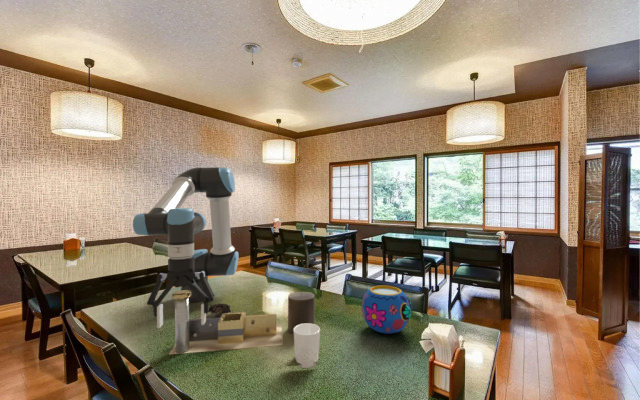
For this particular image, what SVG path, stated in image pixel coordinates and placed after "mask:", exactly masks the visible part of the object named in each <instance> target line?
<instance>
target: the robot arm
mask: <svg viewBox="0 0 640 400" xmlns="http://www.w3.org/2000/svg"><path fill="white" fill-rule="evenodd" d="M235 191H236V182H235V178H234V173H233V171H232V170H231V169H230V167H229V168H228V167H220V166H219V167H215V166H214V167H194V168H190V169H188V170H185V171H184V172H182V173H180V174H178V176H176V177H175V178H174V179H173V181H172V183H171V186H170V188H169V189H168V190H167V191H166V192H165V193H164V194H163V195H162V197H161V198H160V199H159V200H158V201H157V203H155V205H154V206H153V207H152V208H151V209H150V210H149V212H148V213H146V212H143V213H138V214H136V215H135V216H134V217H133V220H132V228H133V232H134V234H136V235H139V236H148V237H149V236H167V257H168V259H167V265H168V266H167V273H164V272H160V273H159V274H157V275H156V282H155V284H154V287H153V289H152V291H151V293H150V294H149V297H148V299H147V301H146V305H147V306H152V307H153V316H154V317H156V327H157V329H160V328H161V327H162V326H163V325H164V304H163V303H162V301H163V300H164V299H165V297H166V296H167V295H168V294H169V292H170V291H171V290H172V289H173V288H174V287H175V288H180V290H179V291H181V290H190V291H191V296H190V297H189V303H196V302H202V303H201V304H200V313H201V314H200V316H201V325H204V324H205V322H206V313H208V311H209V307H210V303H211V302H213V301H214V300H215V298H216V297H215V294H214V291H213V290H212V287H211V286H210V283H209V277H214V276H215V277H219V276H225V277H227V276H234V275H235V274H236V272H237V268H238V266H239V265H238V264H239V257H240V256H239V251H235V250H236V248H235V246H233V244H232V237H231V236H232V234H231V233H232V232H231V218H230V217H231V216H230V201H229V200H230V198H231V197H232V193H234V192H235ZM194 193H205V198H206V199H208V200H209V209H210V219H211V220H210V221H211V223H210V224H211V235H212V247H211V249H210V250H209V251H208V249H206V248H200V249H195V235H196V234H199V233H201V232H202V231H203V230H204V229H205V227H206V225H207V219H206V217H205V216H204V215H203V214H202V213H200V212H196V211H195V212H194V208H192V207H182V206H183V205H184V202H185V201H186V200H187V199H188V197H190V196H192V195H193V194H194ZM181 207H182V208H181ZM166 279H167V280H168V282H169V284H167V286H166V287H165V288H164V290H163V291H162V292H161V294H160V295H159V296H158V298H157V295H158V293H159V291H160V289H161V287H162V285H163V283H164V281H165V280H166Z"/></svg>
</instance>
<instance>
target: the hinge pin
mask: <svg viewBox="0 0 640 400" xmlns="http://www.w3.org/2000/svg"><path fill="white" fill-rule="evenodd" d="M190 296H191V291H190V290H181V291H180V290H178V291H177V290H176V291H174V292H173V293H171V297H172V300H174V330H175V331H174V335H175V336H174V337H175V338H174V340H175V342H174V343H175V344H174V346H175V352H176V353H181V354H186V353H185V352H187V351H188V350H189V320H190V302H189V297H190Z"/></svg>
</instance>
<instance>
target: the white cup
mask: <svg viewBox="0 0 640 400" xmlns="http://www.w3.org/2000/svg"><path fill="white" fill-rule="evenodd" d="M293 331H294V335H293V346H294V355H295V361H296V363H298V364H297V367H299V368H302V369H311V368H314V367H316V366H317V365H318V360H319V352H320V333H321V328H320V326H319V325H317V324H311V323H304V324H299V325H297V326H295V327H294V329H293Z"/></svg>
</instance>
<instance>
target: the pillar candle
mask: <svg viewBox="0 0 640 400" xmlns="http://www.w3.org/2000/svg"><path fill="white" fill-rule="evenodd" d="M315 302H316V301H315V294H314V293H312V292H309V291H296V292H291V293H290V294H288V298H287V333H289V335H292V336H294V331H293V329H294V327H295V326H297V325H299V324H304V323H311V324H315V316H316V315H315V307H316V306H315ZM315 325H316V324H315Z"/></svg>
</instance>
